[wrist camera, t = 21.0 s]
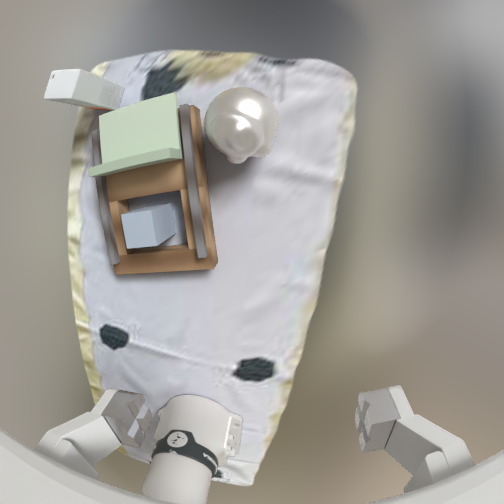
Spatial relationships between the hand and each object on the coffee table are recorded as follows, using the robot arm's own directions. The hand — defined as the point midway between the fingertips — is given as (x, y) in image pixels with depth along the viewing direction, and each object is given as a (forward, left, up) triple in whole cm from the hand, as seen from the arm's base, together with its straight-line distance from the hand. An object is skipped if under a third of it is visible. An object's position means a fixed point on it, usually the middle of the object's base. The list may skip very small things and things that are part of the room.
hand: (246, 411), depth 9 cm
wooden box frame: (+7, +16, -31) cm, 36 cm away
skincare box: (+24, +23, -31) cm, 46 cm away
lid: (+15, +16, -28) cm, 36 cm away
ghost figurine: (+14, +2, -31) cm, 34 cm away
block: (+3, +16, -31) cm, 35 cm away
